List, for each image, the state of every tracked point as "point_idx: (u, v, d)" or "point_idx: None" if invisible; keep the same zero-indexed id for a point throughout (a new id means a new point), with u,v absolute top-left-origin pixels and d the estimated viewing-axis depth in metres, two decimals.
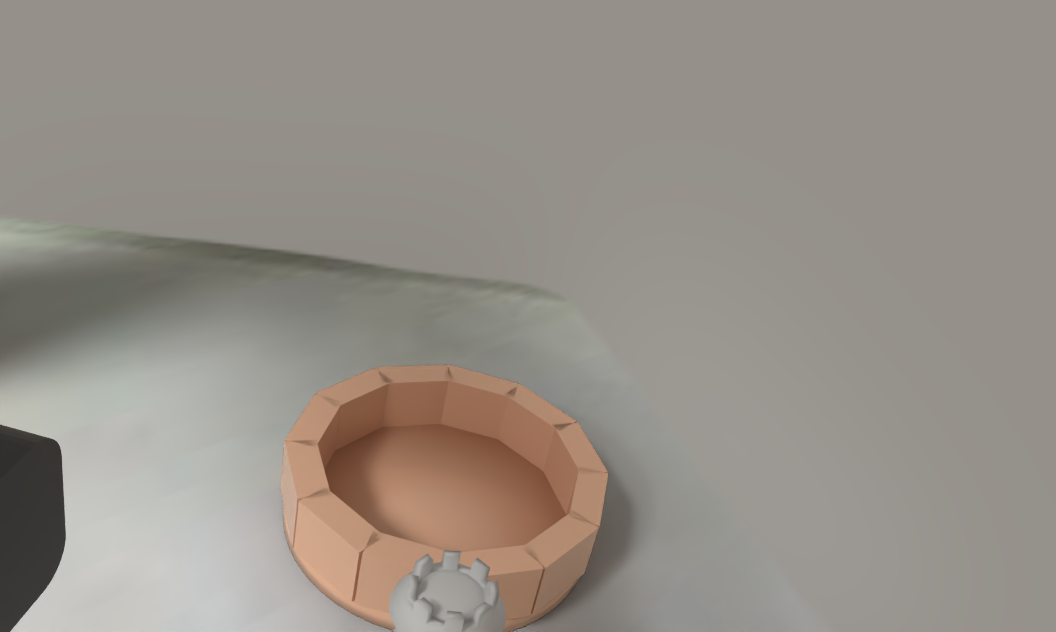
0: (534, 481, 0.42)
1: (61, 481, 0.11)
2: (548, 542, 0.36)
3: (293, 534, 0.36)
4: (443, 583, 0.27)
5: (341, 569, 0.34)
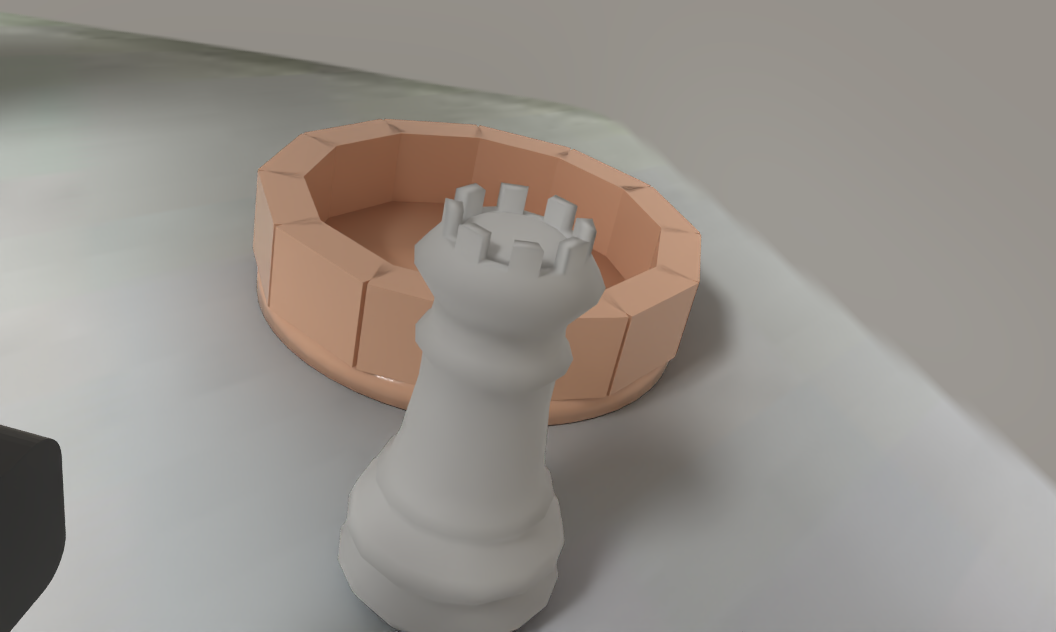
0: None
1: (61, 481, 0.11)
2: (631, 292, 0.25)
3: (269, 285, 0.25)
4: (503, 221, 0.16)
5: (337, 318, 0.24)
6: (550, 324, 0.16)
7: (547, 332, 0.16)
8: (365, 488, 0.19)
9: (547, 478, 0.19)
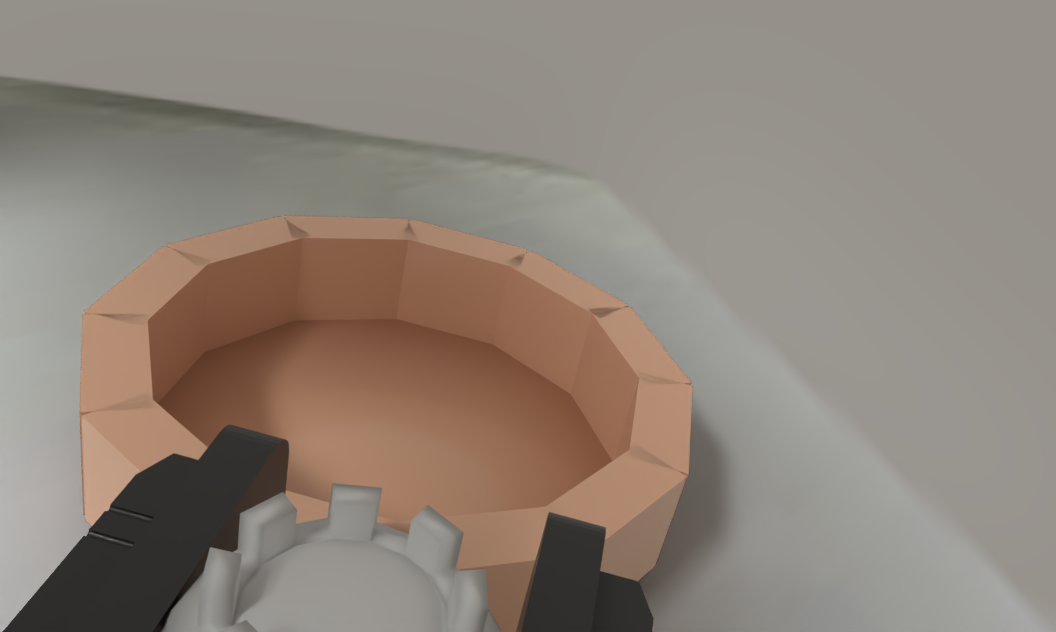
0: (555, 409, 0.24)
1: (285, 479, 0.12)
2: (591, 503, 0.18)
3: (83, 488, 0.18)
4: (322, 576, 0.09)
5: None
6: None
7: None
8: None
9: None
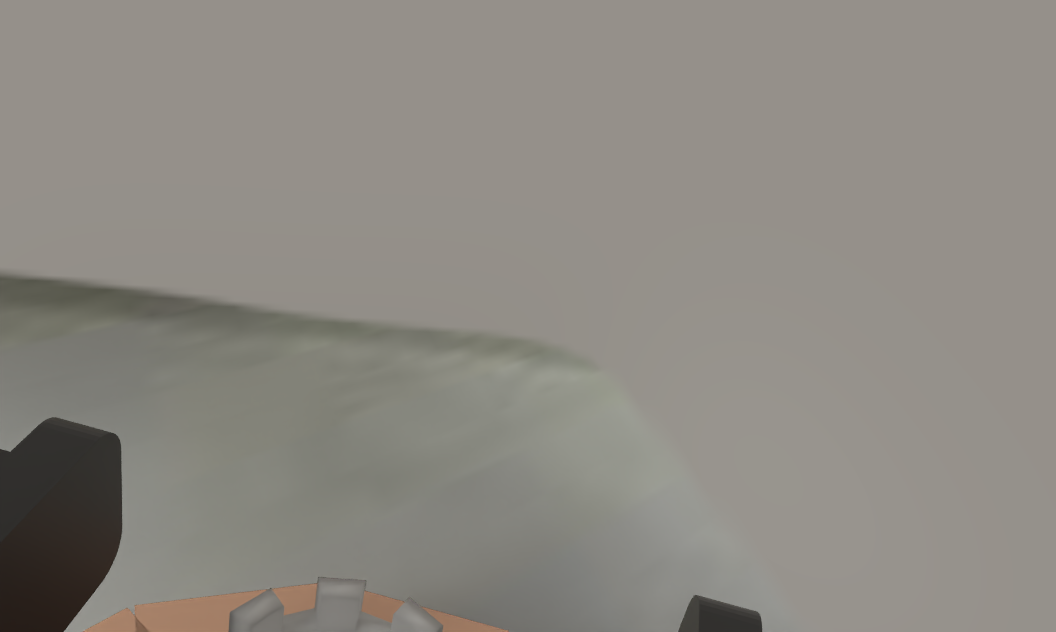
0: None
1: (120, 475, 0.12)
2: None
3: None
4: None
5: None
6: None
7: None
8: None
9: None
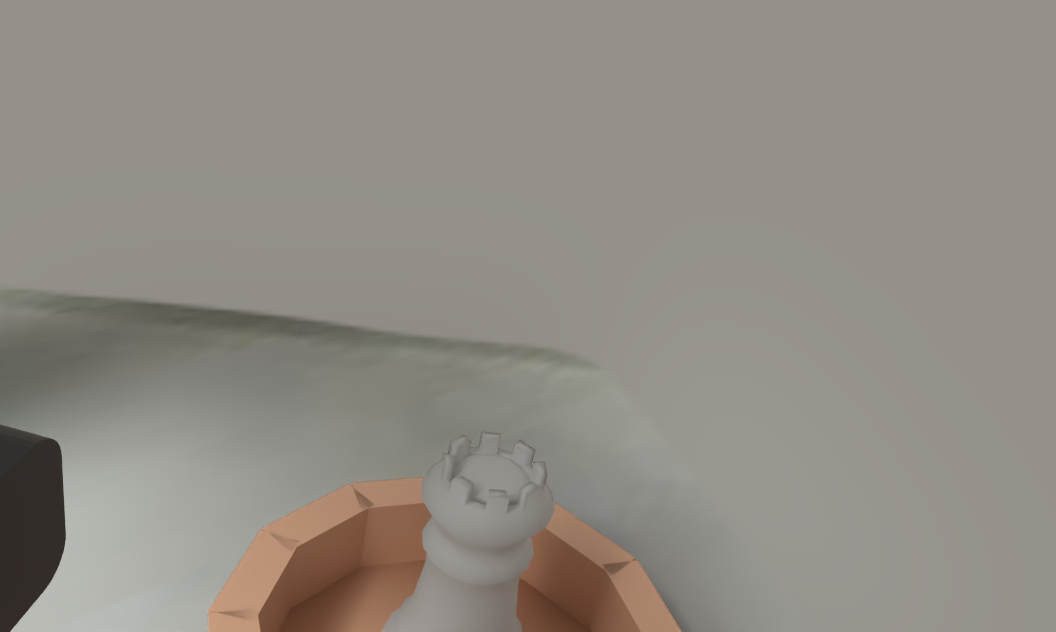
0: None
1: (61, 481, 0.11)
2: None
3: None
4: (483, 465, 0.24)
5: None
6: (515, 542, 0.23)
7: (514, 545, 0.23)
8: None
9: (518, 630, 0.26)
